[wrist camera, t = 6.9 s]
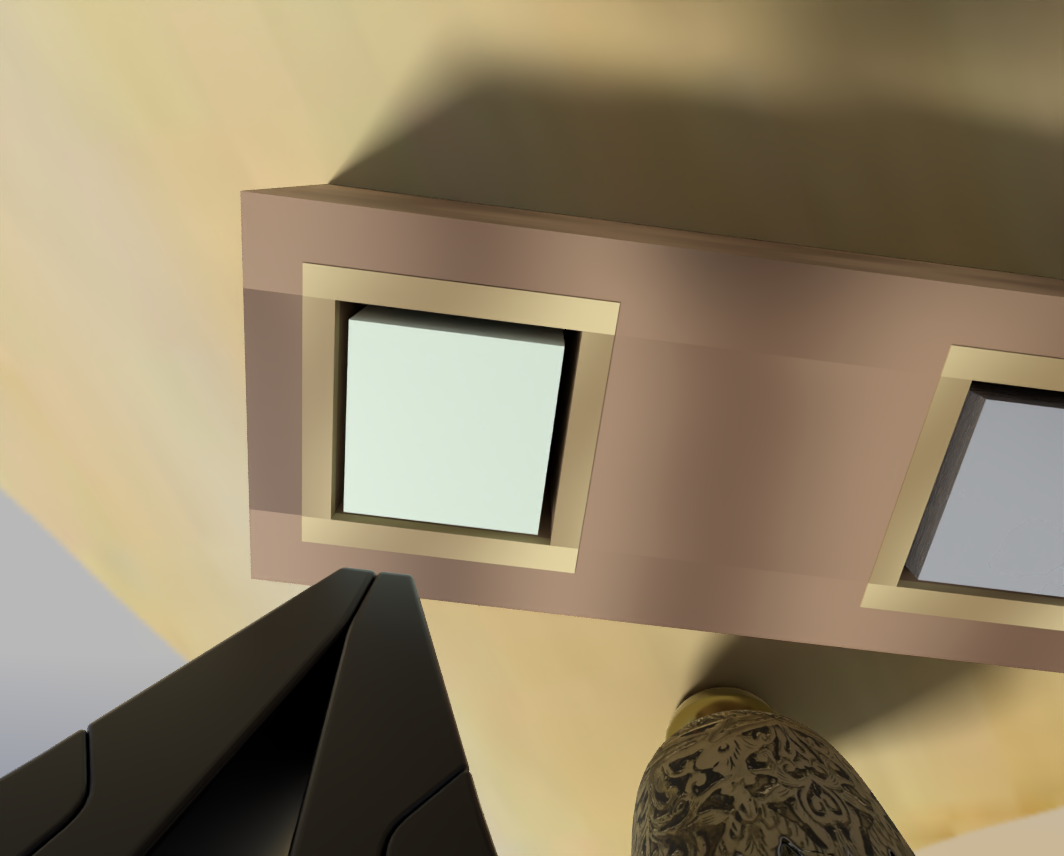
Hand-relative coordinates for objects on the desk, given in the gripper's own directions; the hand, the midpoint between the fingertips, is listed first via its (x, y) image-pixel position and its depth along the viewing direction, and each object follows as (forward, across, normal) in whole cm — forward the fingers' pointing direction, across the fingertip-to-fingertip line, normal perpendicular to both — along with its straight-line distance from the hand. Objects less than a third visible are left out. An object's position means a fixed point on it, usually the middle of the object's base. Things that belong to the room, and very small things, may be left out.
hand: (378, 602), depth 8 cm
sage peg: (+10, 0, 0) cm, 10 cm away
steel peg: (+10, -12, 0) cm, 16 cm away
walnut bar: (+11, -6, 0) cm, 12 cm away
